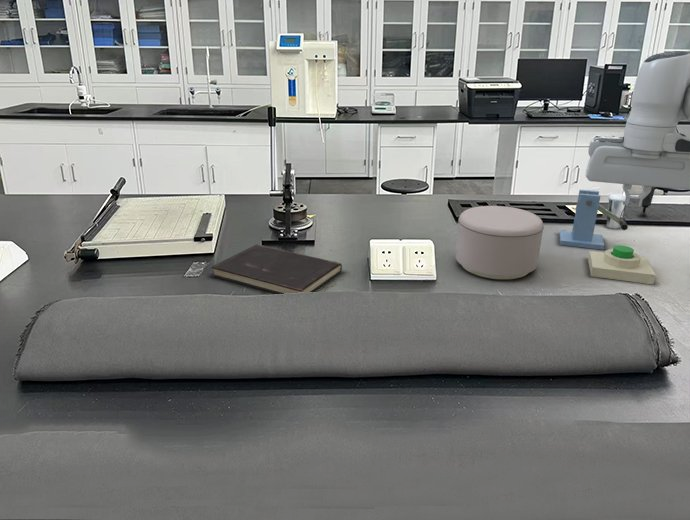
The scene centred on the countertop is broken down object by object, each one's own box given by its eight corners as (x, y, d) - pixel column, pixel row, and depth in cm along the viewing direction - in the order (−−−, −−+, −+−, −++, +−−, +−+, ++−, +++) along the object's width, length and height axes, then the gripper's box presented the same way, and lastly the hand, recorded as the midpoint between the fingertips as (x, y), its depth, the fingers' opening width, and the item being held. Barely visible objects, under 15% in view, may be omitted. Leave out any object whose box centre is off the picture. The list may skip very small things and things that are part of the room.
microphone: (624, 213, 156) (639, 144, 149) (646, 212, 157) (662, 144, 149) (639, 220, 150) (655, 149, 142) (661, 219, 151) (678, 148, 143)
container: (535, 287, 109) (543, 234, 105) (448, 275, 115) (452, 223, 110) (538, 256, 125) (545, 208, 120) (461, 246, 131) (465, 200, 126)
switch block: (645, 266, 120) (649, 250, 118) (653, 284, 111) (657, 266, 109) (587, 259, 123) (591, 243, 122) (590, 276, 115) (594, 259, 113)
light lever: (620, 225, 132) (627, 217, 131) (623, 232, 127) (630, 225, 126) (579, 197, 133) (586, 189, 132) (580, 203, 128) (587, 195, 127)
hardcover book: (301, 300, 104) (300, 290, 103) (212, 276, 114) (211, 266, 113) (342, 271, 116) (342, 262, 116) (258, 252, 127) (258, 243, 126)
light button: (631, 254, 117) (632, 246, 116) (633, 260, 113) (635, 253, 113) (611, 251, 118) (612, 244, 117) (613, 258, 114) (614, 250, 114)
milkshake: (626, 226, 145) (634, 191, 141) (615, 230, 142) (623, 194, 138) (611, 222, 148) (618, 187, 144) (599, 226, 145) (606, 190, 142)
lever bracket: (601, 239, 136) (610, 190, 131) (603, 249, 129) (614, 199, 124) (559, 234, 139) (567, 186, 134) (559, 244, 132) (568, 195, 127)
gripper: (592, 137, 106) (579, 204, 112) (710, 145, 100) (690, 215, 105) (590, 132, 112) (578, 196, 117) (701, 139, 106) (683, 206, 111)
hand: (632, 205), depth 111 cm, fingers closed
